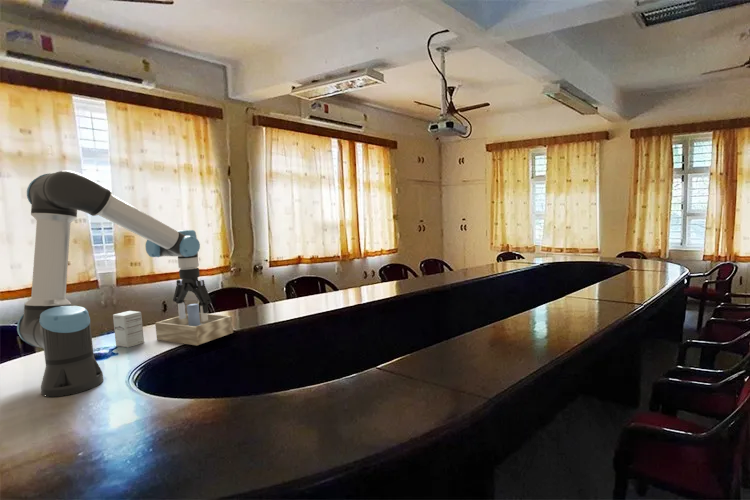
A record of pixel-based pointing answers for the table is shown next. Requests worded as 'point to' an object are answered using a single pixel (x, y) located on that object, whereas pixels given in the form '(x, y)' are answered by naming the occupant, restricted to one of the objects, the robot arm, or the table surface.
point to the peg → (193, 315)
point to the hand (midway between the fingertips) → (193, 319)
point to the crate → (194, 329)
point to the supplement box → (128, 328)
